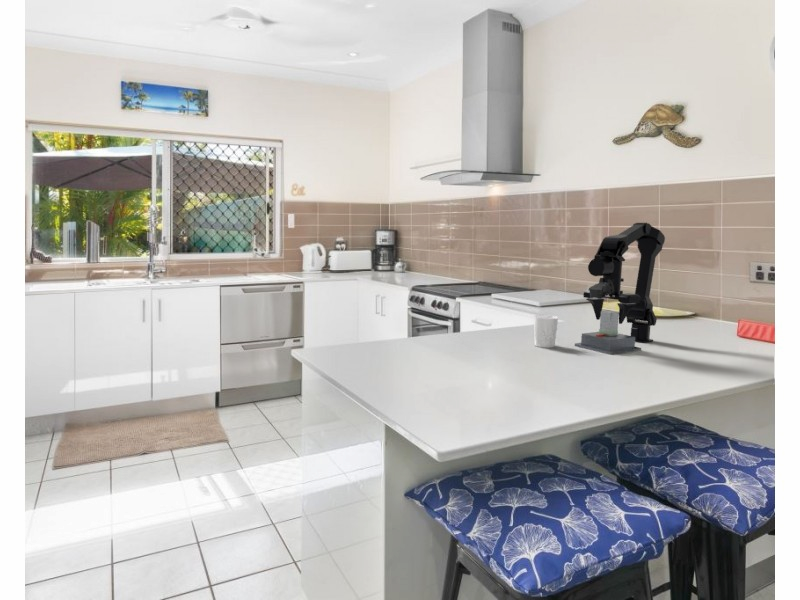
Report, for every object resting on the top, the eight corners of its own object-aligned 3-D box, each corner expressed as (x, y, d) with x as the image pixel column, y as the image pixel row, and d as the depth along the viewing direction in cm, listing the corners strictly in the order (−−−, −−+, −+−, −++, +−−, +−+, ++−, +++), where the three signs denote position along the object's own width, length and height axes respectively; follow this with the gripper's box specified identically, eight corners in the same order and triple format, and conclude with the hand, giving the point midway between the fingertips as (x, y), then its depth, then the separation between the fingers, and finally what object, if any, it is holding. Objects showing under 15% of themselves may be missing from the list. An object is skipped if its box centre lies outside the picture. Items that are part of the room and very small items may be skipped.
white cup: (557, 348, 188) (558, 319, 186) (532, 347, 189) (534, 318, 188) (555, 344, 195) (557, 315, 194) (532, 343, 197) (533, 314, 196)
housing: (604, 342, 201) (605, 328, 200) (641, 350, 188) (642, 335, 187) (574, 345, 193) (575, 331, 193) (610, 354, 180) (611, 339, 180)
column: (607, 333, 193) (608, 310, 192) (617, 335, 189) (619, 312, 188) (598, 334, 191) (600, 311, 190) (609, 336, 187) (610, 312, 186)
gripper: (573, 273, 191) (570, 319, 193) (619, 278, 175) (615, 327, 177) (596, 272, 197) (593, 317, 199) (642, 277, 181) (639, 325, 183)
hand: (609, 321), depth 189 cm, fingers open, 9 cm apart
